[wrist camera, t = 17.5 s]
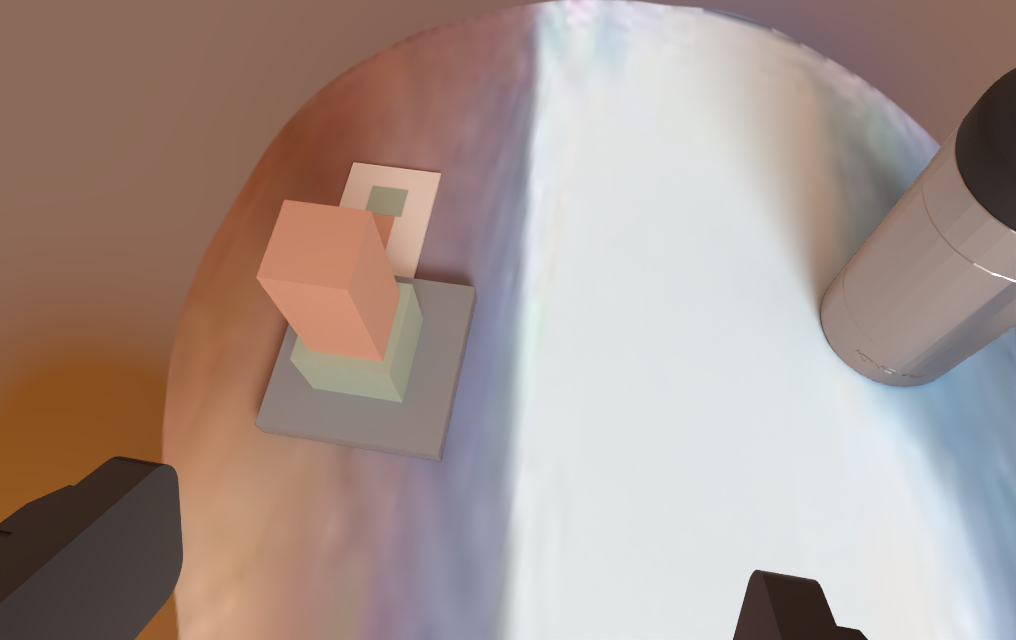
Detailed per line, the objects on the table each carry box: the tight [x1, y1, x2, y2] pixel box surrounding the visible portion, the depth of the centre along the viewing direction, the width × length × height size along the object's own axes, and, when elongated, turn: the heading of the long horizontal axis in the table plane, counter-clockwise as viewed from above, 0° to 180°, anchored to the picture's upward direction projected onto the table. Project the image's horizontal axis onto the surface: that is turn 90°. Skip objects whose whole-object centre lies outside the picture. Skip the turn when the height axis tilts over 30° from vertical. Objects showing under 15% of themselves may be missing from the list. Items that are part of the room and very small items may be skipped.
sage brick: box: [290, 282, 423, 403], centre depth 45 cm, size 6×6×5 cm
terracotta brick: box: [256, 200, 401, 362], centre depth 39 cm, size 4×4×9 cm
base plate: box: [255, 276, 477, 461], centre depth 48 cm, size 12×12×2 cm
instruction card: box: [339, 162, 441, 278], centre depth 53 cm, size 10×7×1 cm
